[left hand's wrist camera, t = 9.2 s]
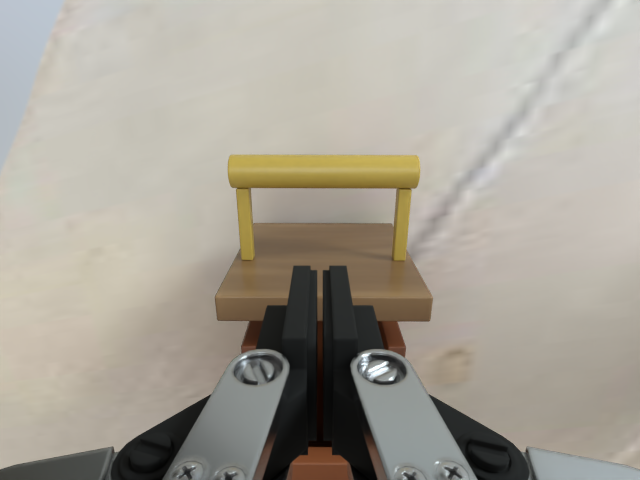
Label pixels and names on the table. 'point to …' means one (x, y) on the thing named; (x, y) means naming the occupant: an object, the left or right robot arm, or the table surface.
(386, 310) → the drawer
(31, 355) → the table surface
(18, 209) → the table surface
